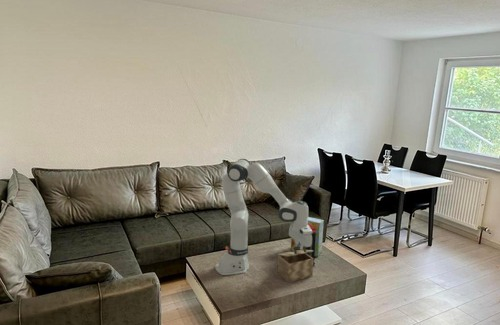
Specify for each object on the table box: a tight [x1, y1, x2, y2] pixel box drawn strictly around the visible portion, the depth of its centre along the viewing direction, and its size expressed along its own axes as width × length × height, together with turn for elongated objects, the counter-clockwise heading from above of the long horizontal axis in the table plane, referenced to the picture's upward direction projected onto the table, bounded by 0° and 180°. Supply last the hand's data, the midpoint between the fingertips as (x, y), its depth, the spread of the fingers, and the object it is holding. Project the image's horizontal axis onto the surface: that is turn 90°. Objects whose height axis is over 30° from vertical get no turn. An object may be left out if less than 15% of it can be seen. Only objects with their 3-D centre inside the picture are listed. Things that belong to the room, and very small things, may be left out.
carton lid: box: [277, 246, 313, 256], centre depth 222 cm, size 18×13×5 cm
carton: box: [277, 253, 315, 283], centre depth 223 cm, size 18×13×12 cm
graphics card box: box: [297, 223, 316, 267], centre depth 240 cm, size 17×7×27 cm, turn 18°
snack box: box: [290, 216, 325, 258], centre depth 255 cm, size 22×9×26 cm, turn 58°
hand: (299, 247), depth 218 cm, fingers open, 2 cm apart
